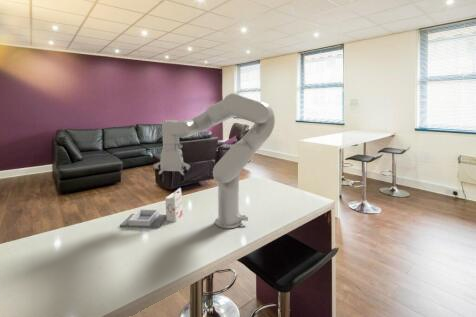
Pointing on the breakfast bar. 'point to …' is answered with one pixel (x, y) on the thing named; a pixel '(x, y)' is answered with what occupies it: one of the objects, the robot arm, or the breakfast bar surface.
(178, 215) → the ink cartridge box
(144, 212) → the board
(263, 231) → the breakfast bar surface
